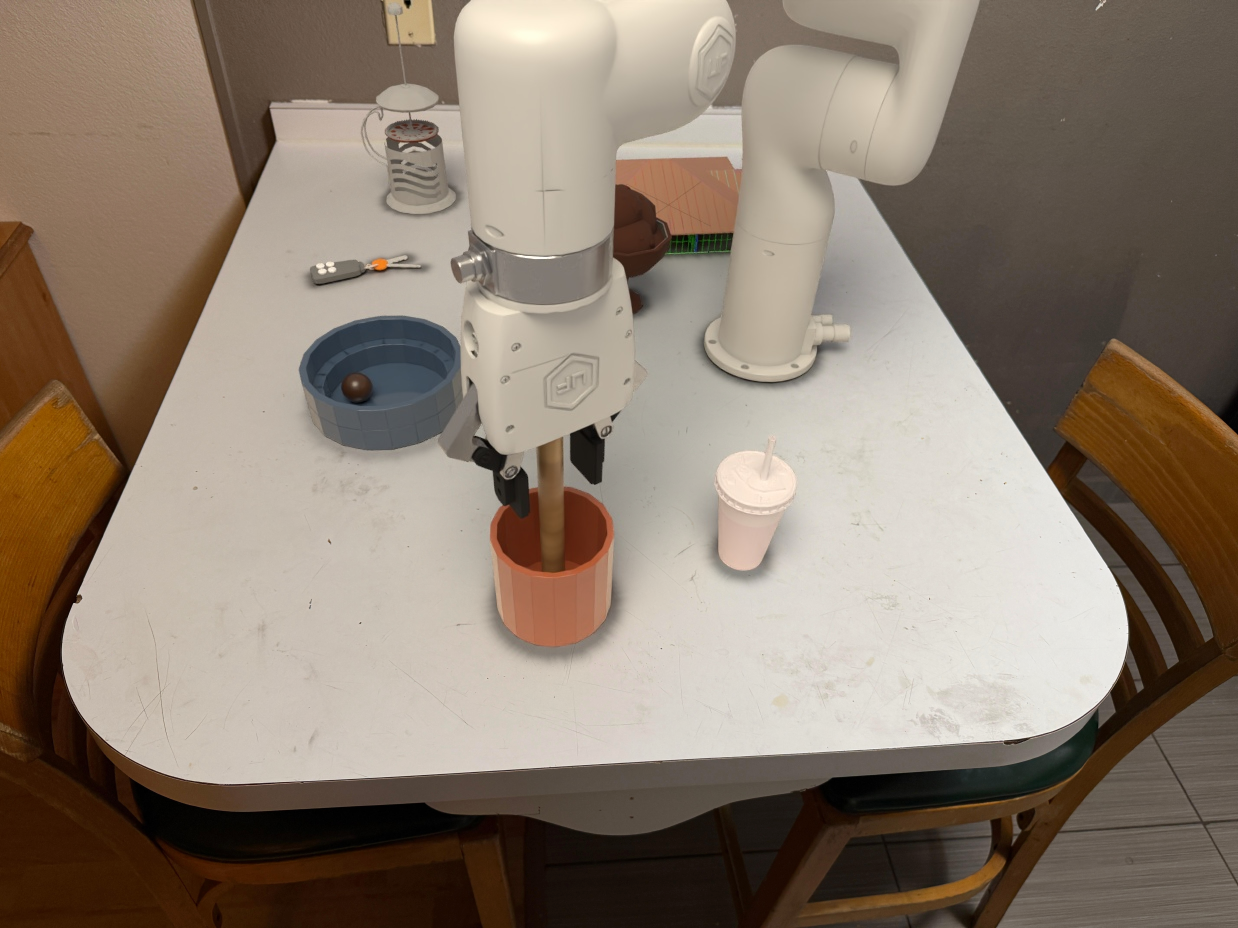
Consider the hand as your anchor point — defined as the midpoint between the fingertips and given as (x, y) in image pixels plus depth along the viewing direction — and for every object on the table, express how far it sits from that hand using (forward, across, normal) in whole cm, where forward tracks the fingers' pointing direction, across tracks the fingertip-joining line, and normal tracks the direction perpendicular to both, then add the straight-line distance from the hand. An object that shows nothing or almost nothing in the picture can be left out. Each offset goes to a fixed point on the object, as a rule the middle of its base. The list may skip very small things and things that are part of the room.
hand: (550, 486), depth 57 cm
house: (+14, +46, +50) cm, 69 cm away
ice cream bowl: (+14, +30, +34) cm, 47 cm away
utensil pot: (+13, 0, 0) cm, 13 cm away
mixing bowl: (+13, -1, +30) cm, 33 cm away
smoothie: (+14, +16, -4) cm, 21 cm away
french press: (+14, +20, +71) cm, 75 cm away
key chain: (+14, +7, +56) cm, 58 cm away
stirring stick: (+13, 0, 0) cm, 13 cm away
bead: (+13, -3, +32) cm, 35 cm away
